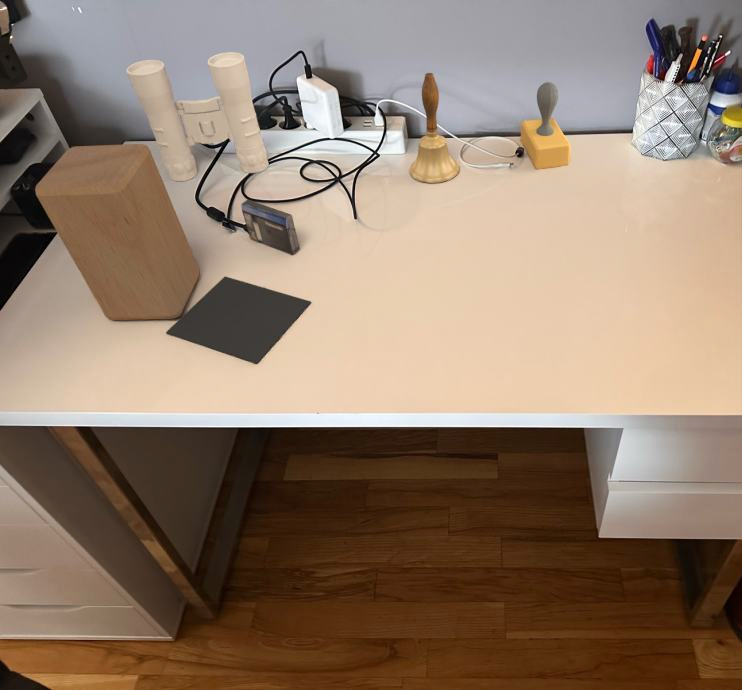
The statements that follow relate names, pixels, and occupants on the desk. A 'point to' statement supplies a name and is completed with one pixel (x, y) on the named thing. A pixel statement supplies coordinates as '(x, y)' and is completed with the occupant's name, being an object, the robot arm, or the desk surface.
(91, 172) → the block
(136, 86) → the binoculars
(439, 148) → the hand bell
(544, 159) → the rubber stamp
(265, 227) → the mini dv tape
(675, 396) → the desk surface
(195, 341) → the mat
